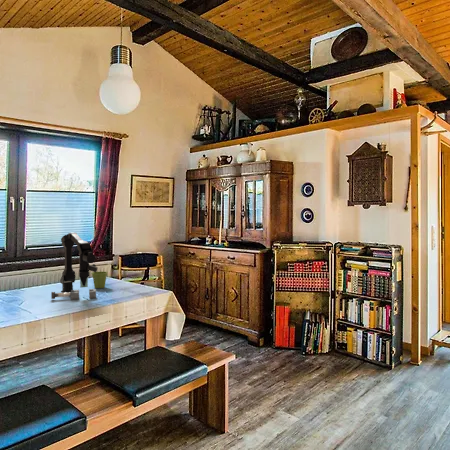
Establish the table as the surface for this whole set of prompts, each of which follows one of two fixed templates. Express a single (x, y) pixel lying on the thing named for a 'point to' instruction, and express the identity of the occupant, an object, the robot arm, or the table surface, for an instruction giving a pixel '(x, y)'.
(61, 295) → the shaft
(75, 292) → the cradle rig
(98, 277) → the plant pot
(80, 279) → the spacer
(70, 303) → the table surface
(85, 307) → the table surface
